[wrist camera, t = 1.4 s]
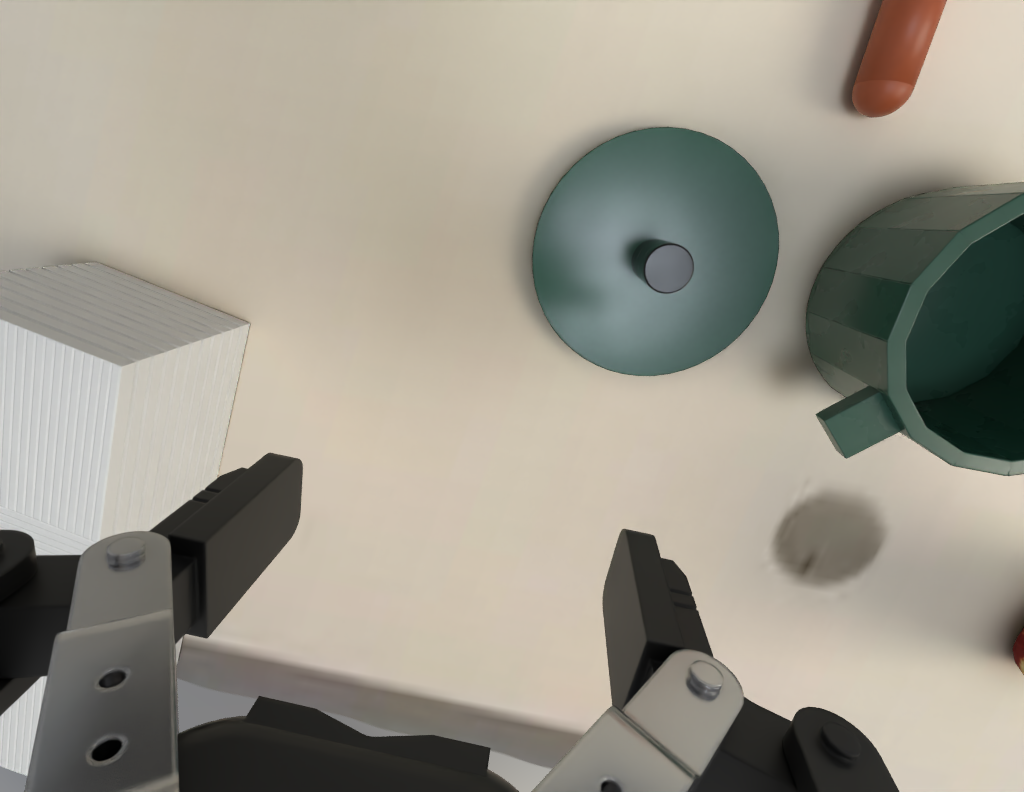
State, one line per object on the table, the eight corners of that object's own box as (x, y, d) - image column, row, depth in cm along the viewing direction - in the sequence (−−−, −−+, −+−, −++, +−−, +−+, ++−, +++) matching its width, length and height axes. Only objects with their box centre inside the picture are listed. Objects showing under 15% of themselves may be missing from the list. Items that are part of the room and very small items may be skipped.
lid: (488, 230, 31) (471, 233, 26) (695, 72, 28) (729, 35, 22) (612, 410, 34) (621, 449, 29) (814, 288, 31) (872, 305, 25)
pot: (724, 306, 32) (779, 336, 24) (1050, 103, 27) (1257, 55, 19) (821, 467, 34) (899, 544, 26) (1132, 309, 30) (1344, 344, 22)
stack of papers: (177, 662, 45) (66, 790, 35) (59, 618, 45) (-88, 735, 35) (250, 323, 35) (121, 366, 25) (96, 261, 34) (-100, 280, 24)
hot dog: (899, -78, 25) (935, -110, 23) (954, -69, 25) (996, -100, 23) (834, 116, 28) (860, 107, 25) (883, 125, 28) (914, 116, 25)
